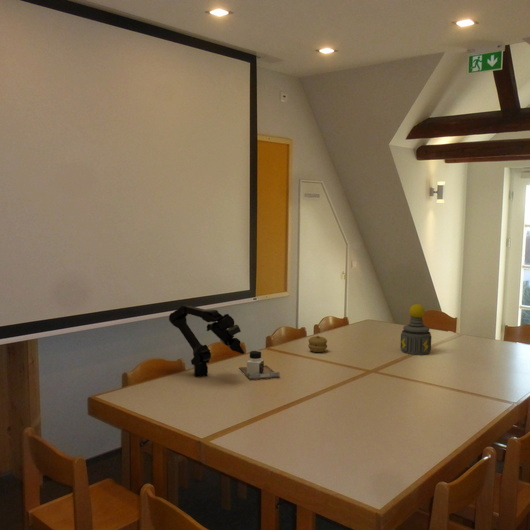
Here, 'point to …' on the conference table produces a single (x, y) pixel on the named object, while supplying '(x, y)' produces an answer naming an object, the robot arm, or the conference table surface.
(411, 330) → the decorative lamp
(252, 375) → the price rail
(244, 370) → the shelf board
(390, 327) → the conference table surface
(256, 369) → the medicine bottle
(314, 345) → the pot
